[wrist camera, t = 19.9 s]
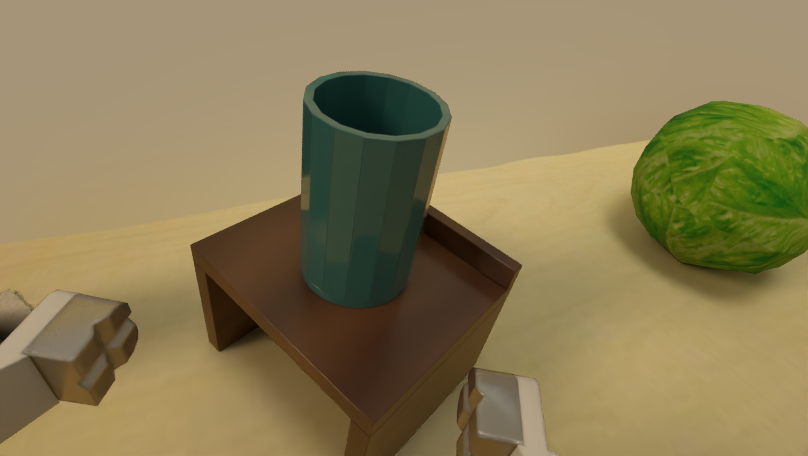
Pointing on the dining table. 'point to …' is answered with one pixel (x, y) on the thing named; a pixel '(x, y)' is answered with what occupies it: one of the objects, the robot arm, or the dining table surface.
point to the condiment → (11, 313)
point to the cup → (366, 183)
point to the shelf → (360, 319)
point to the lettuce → (726, 187)
